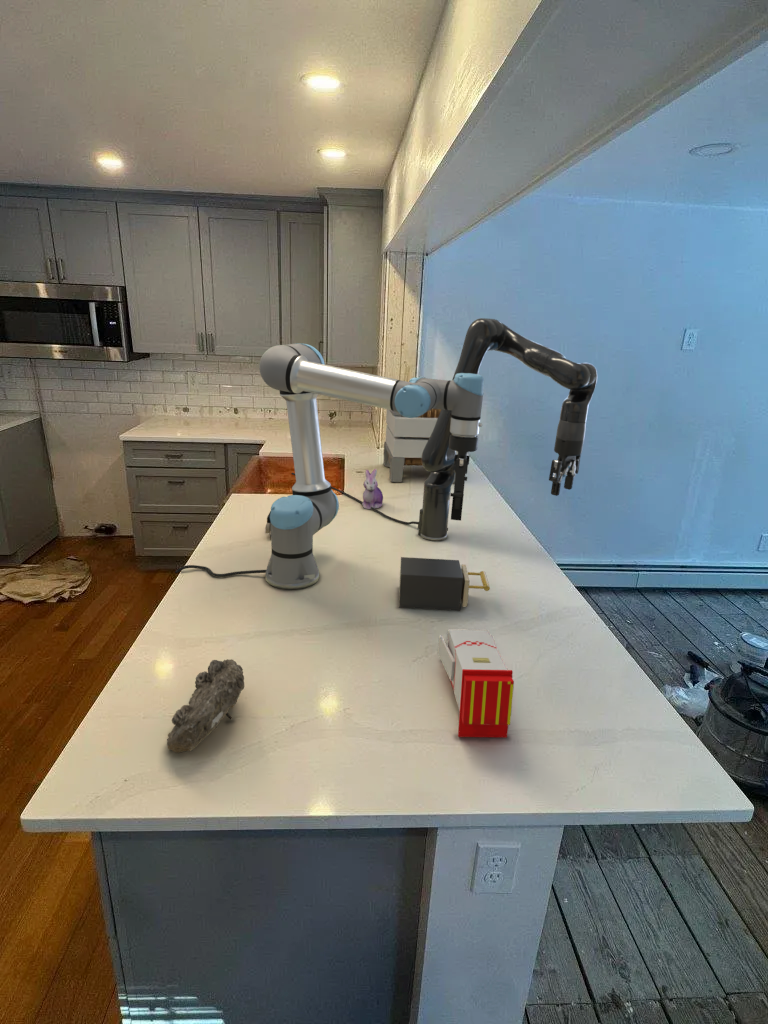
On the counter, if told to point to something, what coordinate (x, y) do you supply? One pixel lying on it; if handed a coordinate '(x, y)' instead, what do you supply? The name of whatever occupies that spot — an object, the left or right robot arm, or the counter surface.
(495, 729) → the toy
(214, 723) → the fossil
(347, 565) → the counter surface
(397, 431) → the transformer
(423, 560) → the cabinet
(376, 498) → the figurine
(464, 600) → the drawer
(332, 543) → the counter surface
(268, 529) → the figurine character
